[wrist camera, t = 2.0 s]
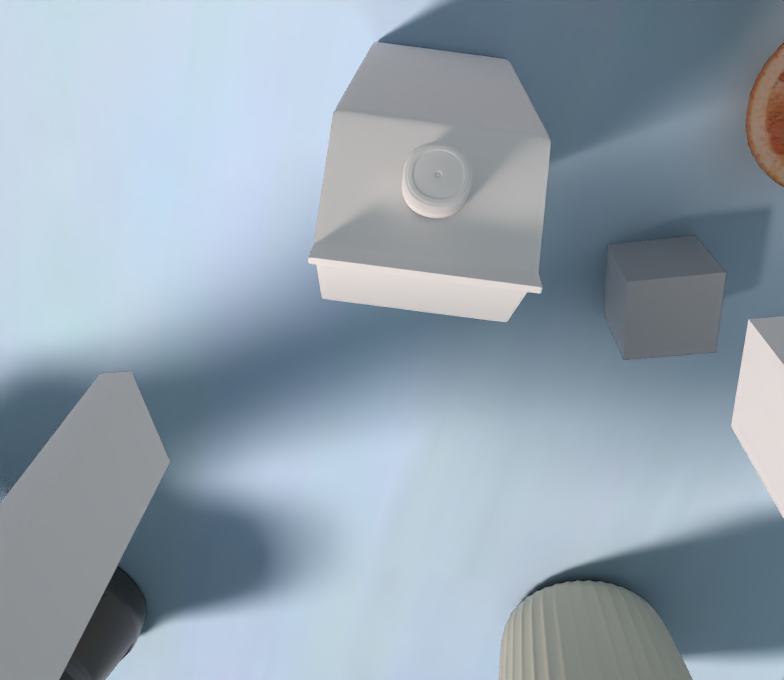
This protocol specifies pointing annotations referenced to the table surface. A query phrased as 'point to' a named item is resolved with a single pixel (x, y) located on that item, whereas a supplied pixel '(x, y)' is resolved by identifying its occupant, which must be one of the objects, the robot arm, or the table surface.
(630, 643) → the canister
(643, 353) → the slate grey block
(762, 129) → the fruit slice
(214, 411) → the table surface
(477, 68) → the milk carton
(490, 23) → the table surface
